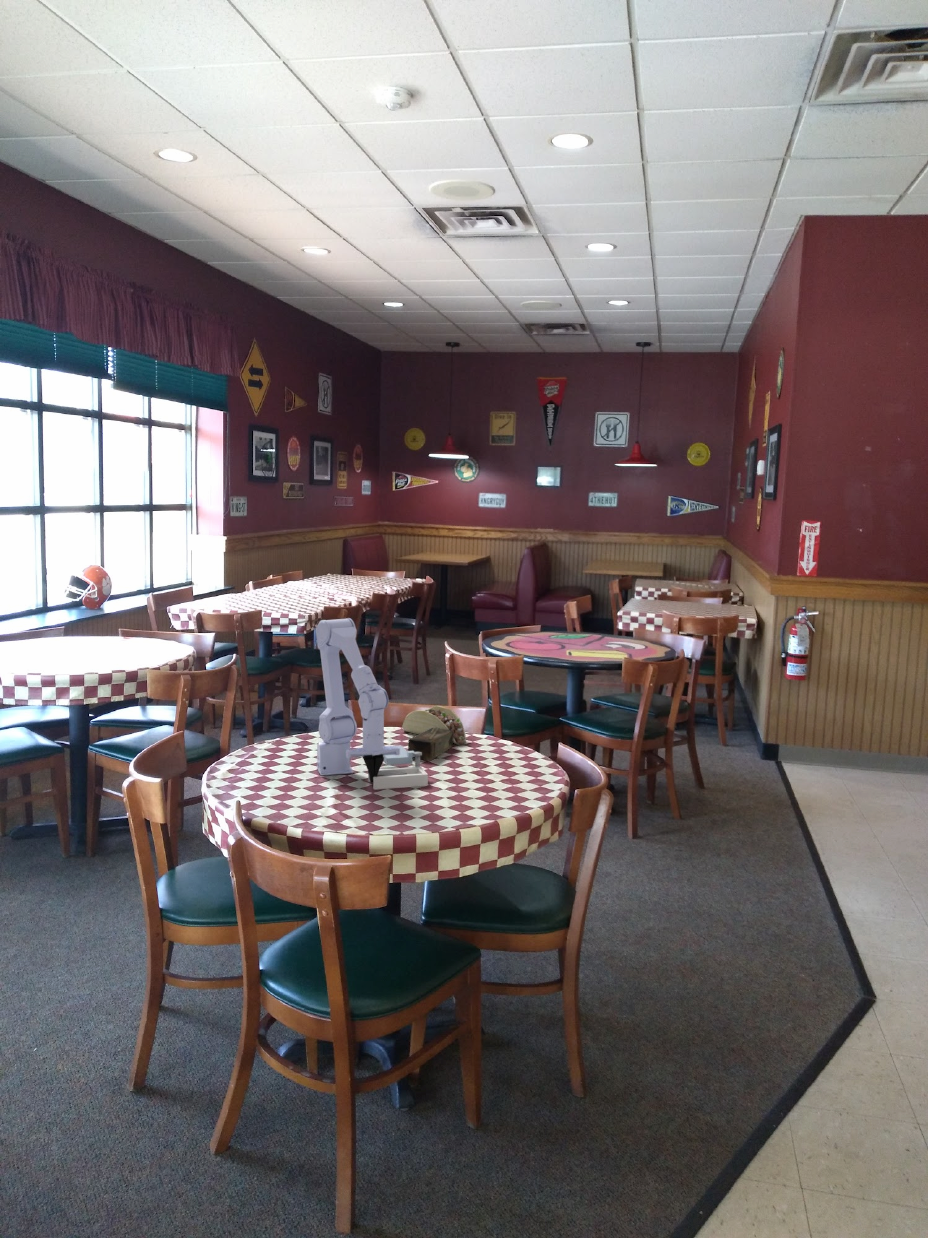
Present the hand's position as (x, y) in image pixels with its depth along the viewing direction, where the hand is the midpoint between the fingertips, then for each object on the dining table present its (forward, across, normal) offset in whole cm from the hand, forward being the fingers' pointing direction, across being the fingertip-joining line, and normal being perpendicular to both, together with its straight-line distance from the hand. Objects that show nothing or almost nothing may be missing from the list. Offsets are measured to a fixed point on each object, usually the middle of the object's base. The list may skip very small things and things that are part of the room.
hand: (372, 781), depth 252 cm
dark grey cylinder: (0, +5, 0) cm, 5 cm away
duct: (+1, +7, 0) cm, 7 cm away
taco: (+2, +31, +48) cm, 57 cm away
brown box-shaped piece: (+2, +24, +29) cm, 38 cm away
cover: (-3, +10, +11) cm, 16 cm away
